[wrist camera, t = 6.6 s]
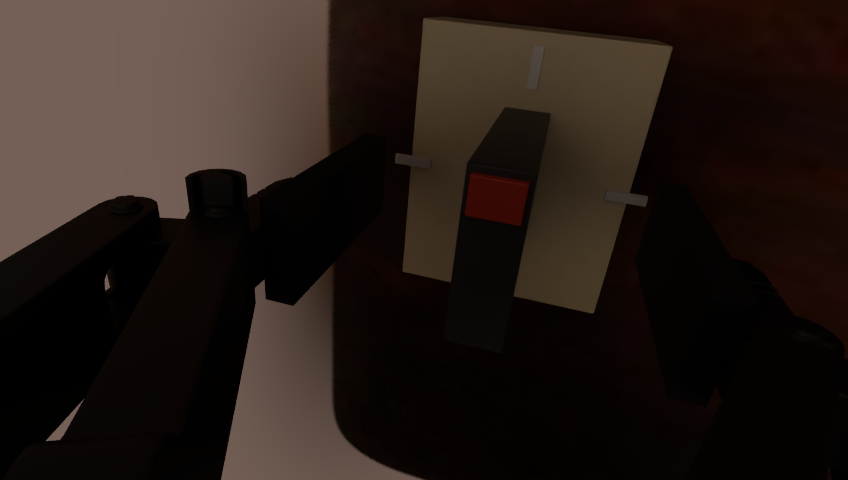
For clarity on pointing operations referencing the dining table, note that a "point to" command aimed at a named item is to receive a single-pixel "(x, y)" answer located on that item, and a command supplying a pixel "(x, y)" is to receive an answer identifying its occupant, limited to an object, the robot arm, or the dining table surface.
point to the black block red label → (494, 228)
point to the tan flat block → (563, 152)
